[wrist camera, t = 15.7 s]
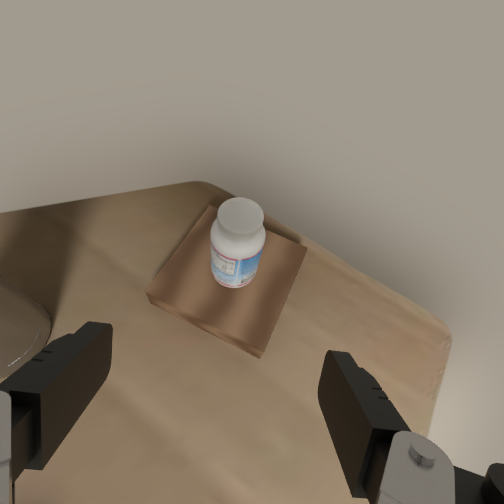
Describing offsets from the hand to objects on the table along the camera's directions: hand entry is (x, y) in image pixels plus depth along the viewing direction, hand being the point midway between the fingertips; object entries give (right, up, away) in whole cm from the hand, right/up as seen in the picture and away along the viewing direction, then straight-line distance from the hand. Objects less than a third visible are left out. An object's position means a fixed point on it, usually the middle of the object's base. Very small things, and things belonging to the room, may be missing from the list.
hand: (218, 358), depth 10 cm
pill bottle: (-1, +2, +27) cm, 27 cm away
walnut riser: (-2, 0, +30) cm, 30 cm away
